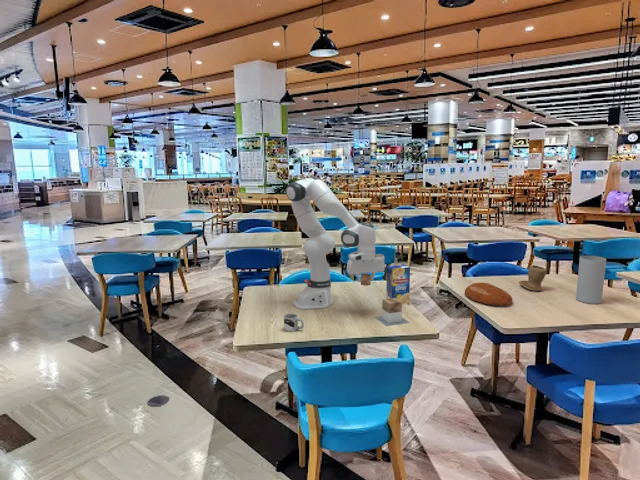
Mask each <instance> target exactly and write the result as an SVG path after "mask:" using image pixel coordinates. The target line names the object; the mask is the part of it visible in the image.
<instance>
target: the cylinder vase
mask: <svg viewBox="0 0 640 480" xmlns="http://www.w3.org/2000/svg"><path fill="white" fill-rule="evenodd" d="M606 265H607V258H605V257H602V256H596V255H580V256H579V262H578V274H577V284H576V292H575V295H576V296H575V300H577V301H578V302H581V303H583V304H584V303H585V304H590V305H598V304H601V303H602V302H603V296H604V295H603V293H604V285H605V284H604V283H605V275H606V267H607V266H606Z"/></svg>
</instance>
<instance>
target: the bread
mask: <svg viewBox="0 0 640 480" xmlns="http://www.w3.org/2000/svg"><path fill="white" fill-rule="evenodd" d="M464 289H465V290H464V295H465V296H466V297H467V298H469V299H470V300H472V301H474V302H477V303H481V304H485V305H490V306H496V307H497V306H500V307H502V306H503V307H505V306H509V305H511V304H512V302H513V298H512V296H511V295H510V294H509V292H507V291H505V290H504V289H502V288H501V287H498V286H496V285H494V284H491V283H488V282H476V283H472V284H470V285H468V286H467V287H466V288H464Z"/></svg>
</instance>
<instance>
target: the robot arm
mask: <svg viewBox="0 0 640 480" xmlns="http://www.w3.org/2000/svg"><path fill="white" fill-rule="evenodd" d="M285 193H286V197H287V198H288V200H289V201H291V208H292V212H293V214H294V217H295V219H296V222H297V223H298V225H299V227H300V229H301V232H302V233H304V234H305V235H306V236H307V237H308V238H309V239H307V240H306V242H305V243H304V244H303V247H302V250H303V253H304V254H305V256H306V257H307V259H308V263H309V269H310V270H309V272H310V279H305V280H304V282H305V284H307V285H306V287H304V288H303V289H302V290H300V291H299V292H298V294H297V297H296V298H297V300H294V301H293V306H294V307H295V308H297V309H298V310H299V309H300V310H309V309H310V310H311V309H326V308H329V306H332V305H333V303H334V301H333V298H332V292H331V286H332V281H331V272H330V271H331V270H330V269H331V268H330V264H329V262H328V261H327V256H326V254H329V253H330V252H332V250H333V249H335V245H336V239H335V238H334V237H333V236H332V235H330V234H329V233H328V232H327V230H326V229H325V228H324V226H323V225H322V224H321V222H320V220H319V219H318V216H317V214H316V212H315V210H314V208H313V206H312V203H311V200H312V201H313V203H314V204H315V206H316V208H317V209H319V211H320V212H322V213H323V214H325V215H329V216H333V217H336V218H338V219H339V220H340V221H342V223H343V224H344V225H345V226H346V227H347V228H346V229H345V230H343V231H342V232H341V233H340V241H341V243H342V245H343V246H344V247H347V248H355V247H357V250H356V251H353V252H350V253H349V254H348V258H349V259H348V260H347V264H346V273H347V274H349V275H356V277H357V282H358V283H361V282H362V278H361V274H370V275H371V282H373V281H374V277H375V276H376V273H381V272H384V271H386V270H385V269H386V267H385V266H386V265H385V260H386V259H385V255H384V254H382V253H376V247H375V246H376V245H375V244H376V238H377V237H376V235H377V234H376V228H375V226H374V225H373V224H371V223H369V222H361V223H360V222H359V221H358V220H357V218H355V216H354V215H353V214H352V213H351V211H350V210H349V209H348V208H347V207H346V206H345V205H344V204H343V203H342V202H341V201H340V200H339V199H338V198H337V196H336V195H335V194H334V192H333V191H332V190H331V188H330V187H329V186H328V185H327V184H326V183H325V182H324V181H323V180H321V179H319V178H317V177H306V178H301V179H299V180H296V181H293V182H290V183H289V184H288V185H287V186H286V188H285Z"/></svg>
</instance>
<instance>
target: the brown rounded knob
mask: <svg viewBox="0 0 640 480" xmlns="http://www.w3.org/2000/svg"><path fill="white" fill-rule="evenodd" d="M371 275H372V274H371V273H362V274H360V278H362V282H360V285H361V286H365V287H367V286H370V285H371V283H372V281H371Z"/></svg>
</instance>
